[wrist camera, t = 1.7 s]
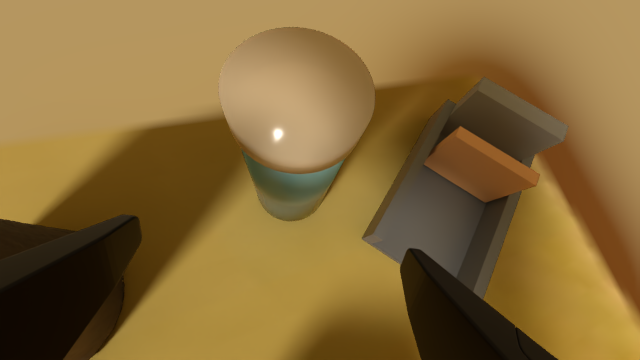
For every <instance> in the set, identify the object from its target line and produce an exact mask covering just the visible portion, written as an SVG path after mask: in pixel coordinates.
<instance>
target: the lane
mask: <svg viewBox="0 0 640 360" xmlns="http://www.w3.org/2000/svg"><path fill="white" fill-rule="evenodd" d="M460 126H461V127H463V128H464V129H466V130H468V131H469V132H471V133H473V134H474V135H476V136H478V137H479V138H481V139H482V140H484V141H486V142H487V143H489V144H491V145H492V146H494V147H496V148H497V149H499V150H501V151H502V152H504V153H506V154H507V155H509V156H511V157H512V158H514V159H515V160H517V161H519V162H520V163H522V164H524V165H525V166H527V167H529V168H530V167H531V164H532V161H533V158H534V155H535V154H537V153H539V152H541V151H543V150H545V149H548V148H549V147H552V146H554V145H556V144H558V143H560V142H563V141H564V139H565V135H566V132H567V129H568V126H567V125H565V124H564V123H562V122H560V121H559V120H557V119H555V118H554V117H552V116H550V115H548V114H547V113H545V112H543V111H542V110H540V109H538V108H537V107H535V106H533V105H531V104H530V103H528V102H526V101H525V100H523V99H521V98H520V97H518V96H516V95H514V94H513V93H511V92H509V91H507V90H506V89H504V88H503V87H501V86H499V85H497V84H496V83H494V82H492V81H491V80H489V79H487V78H486V77H483V78H482V79H481V80H480V81H479V82H478V83H477V84H476V85H475V86H474V87H473V88H472V89H471V90H470V91H469V92H468V93H467V94H466V95H465V96H464V97H463V98H462V99H461V100H460V101H459V102H458V103H457V104H455V103H453V102H452V101H450V100H447V101H446V102H445V103H444V104H443V105H442V106H441V107H440V108H439V109H438V110H437V111H436V112H435V113H434V114H433V115H432V116H431V118H430V119H429V121H428V123H427V124H426V126H425V128H424V130H423V132H422V133H421V135H420V137H419V139H418V140H417V142H416V144H415V146H414V147H413V149H412V151H411V153H410V154H409V156H408V158H407V160H406V161H405V163H404V165H403V167H402V168H401V170H400V172H399V174H398V175H397V177H396V179H395V181H394V183H393V184H392V186H391V188H390V190H389V191H388V193H387V195H386V197H385V198H384V200H383V202H382V204H381V205H380V207H379V209H378V211H377V212H376V214H375V216H374V218H373V219H372V221H371V223H370V225H369V226H368V228H367V230H366V232H365V234H364V235H363V237H362V239H363V240H364V241H366V242H367V243H369V244H370V245H372V246H373V247H375V248H376V249H378V250H379V251H381V252H382V253H384V254H385V255H387V256H388V257H390V258H391V259H393V260H394V261H396V262H397V263H399V264H400V265H401V263H402V261H403V258H404V255H405V253H406V251H407V249H408V248H416V249H420V250H422V251H423V252H424V253H426V254H427V255H428V256H429V257H431V258H432V259H433V260H434V261H436V262H437V263H438V264H439V265H440V266H442V267H443V268H444V269H445V270H447V271H448V272H449V273H450V274H452V275H453V276H454V277H455V278H457V279H458V280H459V281H460V282H462V283H463V284H464V285H465V286H466V287H468V288H469V289H470V290H471V291H473V292H474V293H475V294H476V295H478V296H479V297H480V298H481V299H483V298H484V295H485V292H486V290H487V287H488V284H489V281H490V278H491V276H492V273H493V270H494V267H495V264H496V262H497V259H498V256H499V253H500V250H501V248H502V245H503V242H504V239H505V236H506V234H507V231H508V228H509V225H510V223H511V220H512V217H513V214H514V211H515V209H516V206H517V203H518V200H519V197H520V195H521V192H522V191H519V192H516V193H513V194H510V195H507V196H504V197H501V198H498V199H495V200H492V201H489V202H486V203H484V202H483V201H481V200H480V199H478V198H476V197H475V196H473V195H472V194H470V193H468V192H467V191H465V190H464V189H462V188H460V187H459V186H457V185H456V184H454V183H453V182H451V181H449V180H448V179H446V178H445V177H443V176H441V175H440V174H438V173H437V172H435V171H433V170H432V169H430V168H429V167H427V166H425V165H424V163H425V161H426V159H427V157H428V155H429V153H430V152H431V150H432V149H433V148H434V147H435V146H437V145H438V144H439V143H440V142H441V141H443V140H444V139H445V138H446V137H448V136H449V135H450V134H451V133H452V132H454V131H455V130H456V129H457V128H459V127H460Z"/></svg>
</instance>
